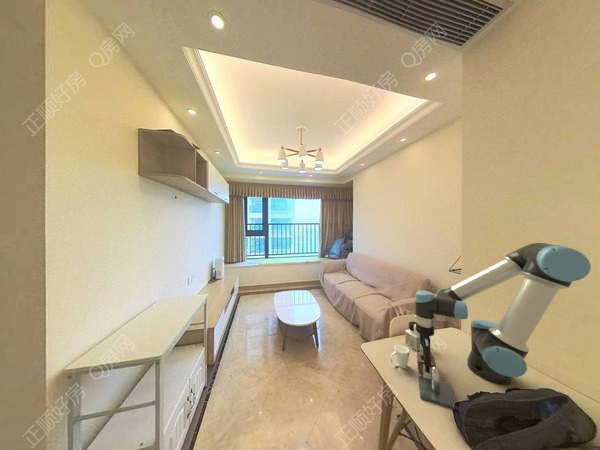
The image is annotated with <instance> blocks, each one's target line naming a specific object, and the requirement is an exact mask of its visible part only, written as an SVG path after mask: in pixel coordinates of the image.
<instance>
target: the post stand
mask: <svg viewBox="0 0 600 450" xmlns="http://www.w3.org/2000/svg"><path fill="white" fill-rule="evenodd" d="M417 380H418V388H419V398H420V399H421V400H424V401H426V402H431V403H433V404H436V405H439V406H441V407H442V406H443V407H445V408H449V409H451V410H453V409H452V408H453V406H454V404H455V403H457V401H456V398H455V394H454V392H453V389H452V385H451V383H448V382H445V381H442V380H440V370H439V368H438V367H437V366H436V367H432V377H431V380H430V379H427V378H424V375H421V374H417Z"/></svg>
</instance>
